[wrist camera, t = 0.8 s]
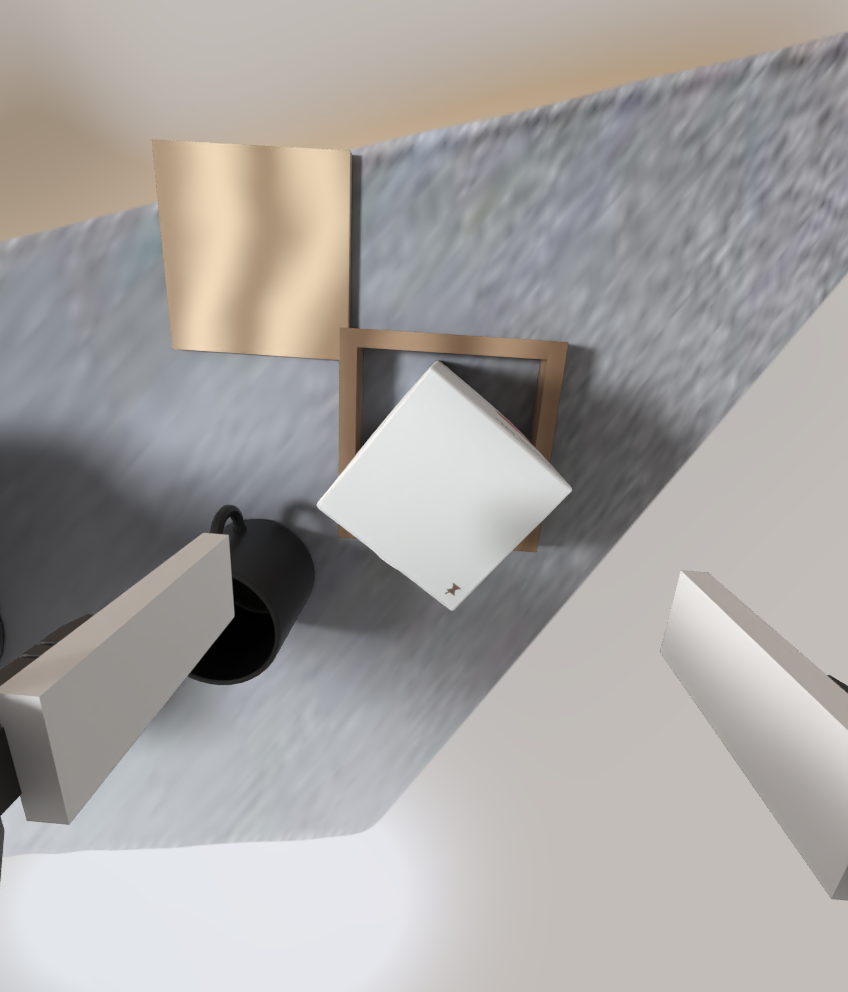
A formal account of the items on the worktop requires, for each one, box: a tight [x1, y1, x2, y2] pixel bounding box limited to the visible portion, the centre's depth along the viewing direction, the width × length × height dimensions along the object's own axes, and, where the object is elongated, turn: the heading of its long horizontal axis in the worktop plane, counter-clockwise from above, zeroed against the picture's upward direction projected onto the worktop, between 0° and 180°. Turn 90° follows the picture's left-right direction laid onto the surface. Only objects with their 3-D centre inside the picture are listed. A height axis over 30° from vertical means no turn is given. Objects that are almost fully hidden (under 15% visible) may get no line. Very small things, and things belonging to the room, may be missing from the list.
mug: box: [188, 505, 314, 685], centre depth 35 cm, size 9×12×9 cm
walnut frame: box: [338, 327, 568, 552], centre depth 35 cm, size 15×15×2 cm
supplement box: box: [317, 360, 572, 611], centre depth 29 cm, size 9×9×15 cm
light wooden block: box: [152, 140, 352, 360], centre depth 32 cm, size 13×13×1 cm
